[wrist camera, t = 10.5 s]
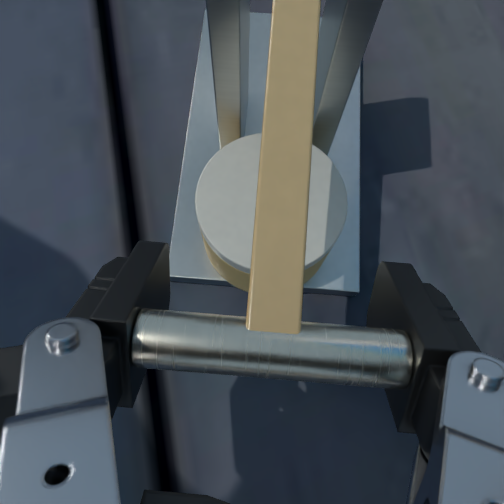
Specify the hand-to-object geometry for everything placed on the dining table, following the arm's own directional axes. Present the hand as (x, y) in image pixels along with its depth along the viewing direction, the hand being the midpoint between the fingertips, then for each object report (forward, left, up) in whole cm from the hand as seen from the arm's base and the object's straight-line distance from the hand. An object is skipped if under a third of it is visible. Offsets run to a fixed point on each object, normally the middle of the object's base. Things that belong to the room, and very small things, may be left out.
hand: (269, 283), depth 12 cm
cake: (-3, +3, -8) cm, 9 cm away
